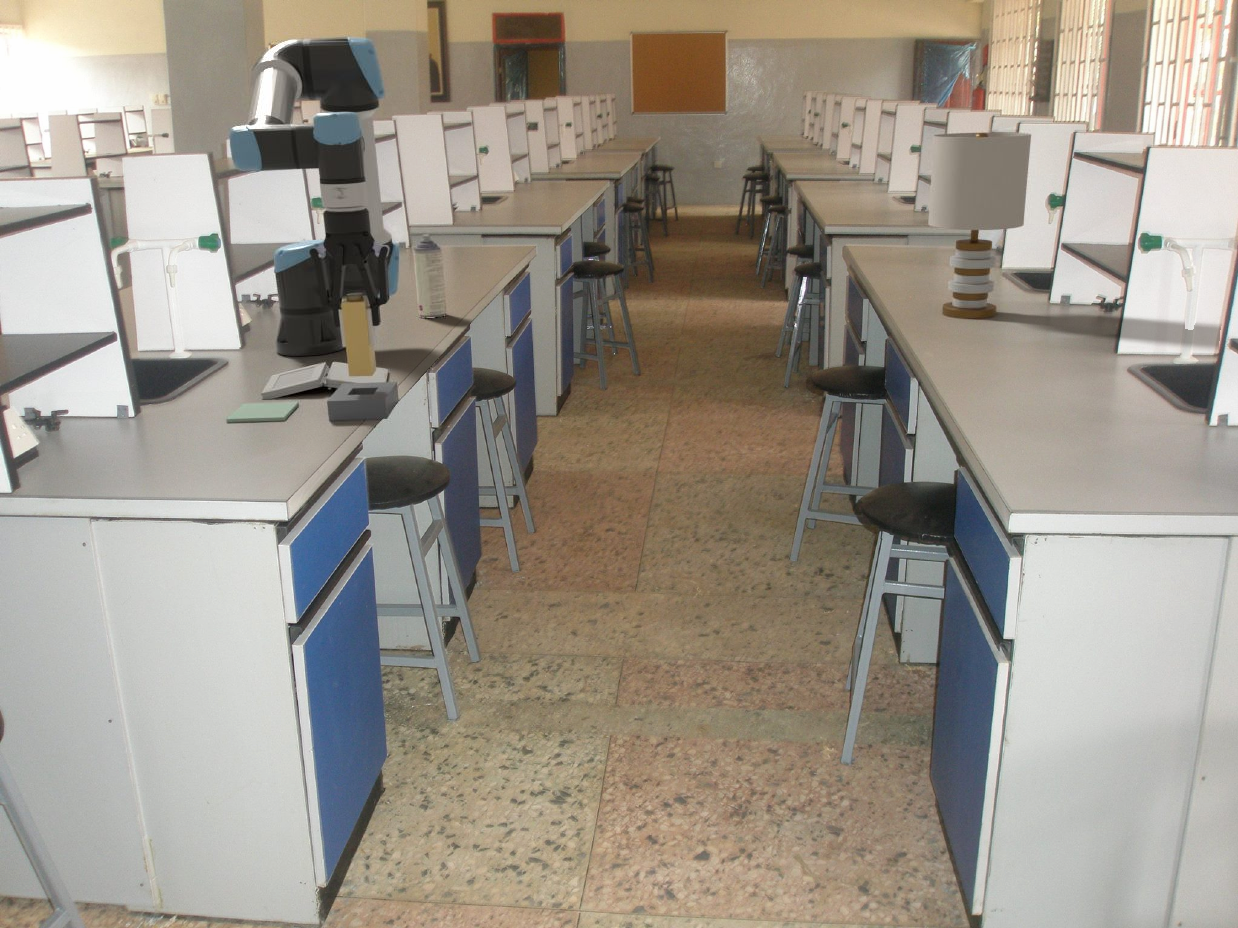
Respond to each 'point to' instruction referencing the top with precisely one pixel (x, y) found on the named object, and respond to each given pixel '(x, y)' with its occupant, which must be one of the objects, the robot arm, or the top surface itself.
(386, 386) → the grey block with hole
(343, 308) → the plug
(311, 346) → the robot arm
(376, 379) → the gadget
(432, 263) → the aerosol can
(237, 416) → the mat
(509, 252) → the top surface
